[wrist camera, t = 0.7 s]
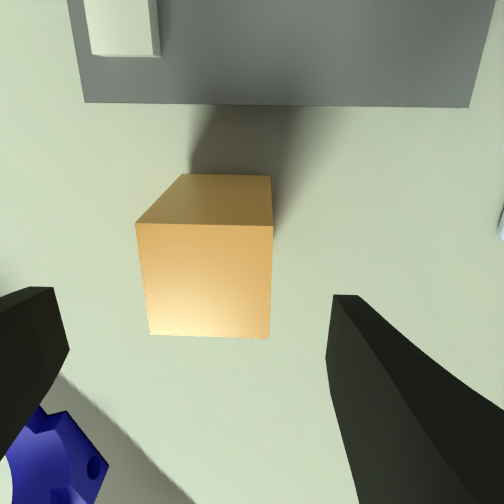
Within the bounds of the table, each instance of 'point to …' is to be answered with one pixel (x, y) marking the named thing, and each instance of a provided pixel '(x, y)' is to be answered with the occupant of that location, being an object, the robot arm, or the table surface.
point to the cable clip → (54, 462)
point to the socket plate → (280, 51)
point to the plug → (209, 256)
